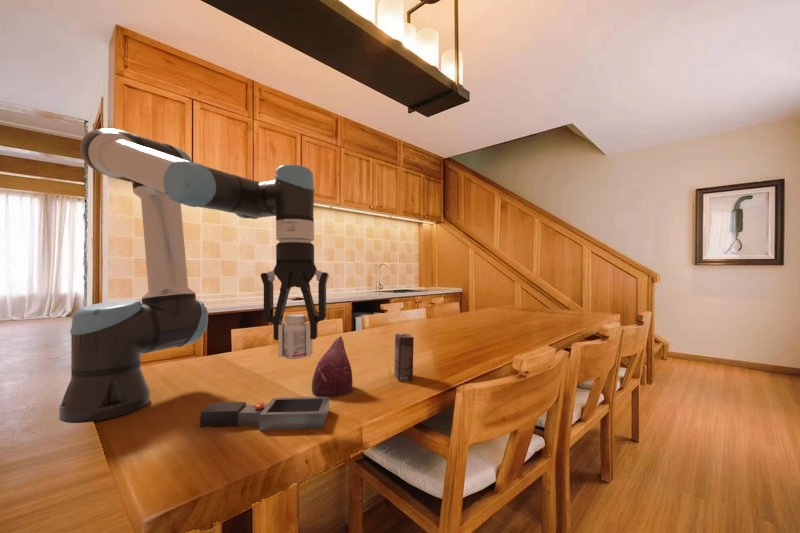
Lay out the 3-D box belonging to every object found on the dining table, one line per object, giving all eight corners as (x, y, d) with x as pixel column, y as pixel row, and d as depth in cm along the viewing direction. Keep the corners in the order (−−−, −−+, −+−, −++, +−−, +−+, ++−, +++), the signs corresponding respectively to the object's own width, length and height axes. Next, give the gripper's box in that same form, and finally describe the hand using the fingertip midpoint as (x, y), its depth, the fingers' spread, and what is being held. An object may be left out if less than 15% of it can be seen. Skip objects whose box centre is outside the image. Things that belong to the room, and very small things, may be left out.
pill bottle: (311, 353, 72) (311, 314, 72) (302, 359, 67) (302, 317, 68) (289, 353, 73) (289, 314, 73) (279, 359, 68) (279, 317, 68)
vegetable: (336, 393, 94) (344, 337, 98) (359, 398, 86) (366, 338, 90) (302, 392, 87) (311, 333, 91) (324, 398, 79) (333, 333, 84)
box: (414, 380, 95) (414, 337, 95) (398, 381, 94) (398, 337, 94) (408, 373, 101) (408, 333, 101) (393, 374, 100) (394, 333, 100)
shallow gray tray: (194, 432, 65) (194, 415, 65) (216, 413, 73) (216, 398, 73) (322, 428, 66) (322, 412, 66) (329, 410, 74) (329, 395, 75)
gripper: (243, 240, 66) (244, 361, 66) (336, 240, 67) (337, 359, 67) (257, 243, 74) (258, 352, 73) (340, 243, 75) (341, 350, 74)
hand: (295, 355), depth 70 cm, fingers closed on pill bottle, 5 cm apart
